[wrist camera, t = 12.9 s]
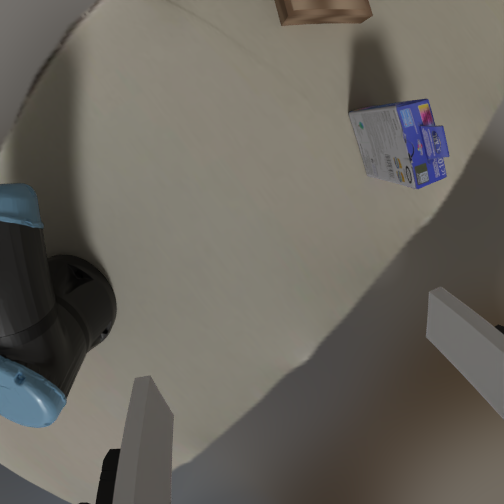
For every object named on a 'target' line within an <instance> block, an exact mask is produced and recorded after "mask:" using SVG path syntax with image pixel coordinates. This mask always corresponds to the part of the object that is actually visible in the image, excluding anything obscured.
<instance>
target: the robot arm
mask: <svg viewBox="0 0 504 504" xmlns="http://www.w3.org/2000/svg"><path fill="white" fill-rule="evenodd" d="M43 228H44V225H43V223H42V222H41V218H40V212H39V206H38V199H37V195H36V192H35V191H34V189H33V188H32V187H31V186H29V185H27V184H23V183H14V184H0V415H2V416H4V417H5V418H7V419H9V420H11V421H13V422H15V423H18V424H20V425H24V426H28V427H34V428H41V427H46V426H49V425H51V424H52V423H53V422H54V421H55V420H56V419H57V417H58V415H59V414H60V412H61V410H62V408H63V407H64V406H65V405H66V401H67V400H66V399H67V396H68V394H69V392H70V389H71V387H72V385H73V382H74V380H75V378H76V376H77V373H78V371H79V369H80V367H81V365H82V362H83V360H84V358H85V356H86V354H87V352H89V351H90V350H91V349H93V348H94V347H96V346H97V345H98V344H100V343H101V342H102V341H103V340H104V339H105V338H106V337H107V336H108V334H109V333H110V331H111V328H112V326H113V324H114V322H115V318H116V310H117V308H116V300H115V296H114V293H113V291H112V288H111V286H110V285H109V283H108V281H107V280H106V278H105V277H104V276H103V275H102V274H101V272H100V271H99V270H98V269H96V268H95V267H94V266H93V265H91V264H90V263H88V262H87V261H85V260H83V259H81V258H78V257H75V256H70V255H58V256H53V257H51V258H49V259H47V254H46V248H45V242H44V235H43ZM426 337H427V338H428V339H429V340H430V341H431V342H432V343H433V344H434V345H435V346H436V348H438V349H439V350H440V352H441V353H442V354H443V355H444V356H445V357H446V358H447V359H448V360H449V361H450V362H451V363H452V364H453V365H454V366H455V367H456V368H457V369H458V370H459V371H460V372H461V373H462V375H463V376H464V377H465V378H466V379H467V380H468V381H469V382H470V383H471V384H472V385H473V386H474V387H475V388H476V390H477V391H478V392H479V393H480V394H481V395H482V396H483V397H484V398H485V399H486V400H487V402H488V403H489V404H490V405H491V406H492V407H493V408H494V409H495V410H496V412H497V413H498V414H499V415H500V416H501V417H502V418H503V419H504V327H503V326H501V325H497V326H495V327H494V326H492V325H491V324H490V323H488V322H487V321H486V320H485V319H483V318H482V317H481V316H480V315H478V314H477V313H476V312H474V311H473V310H472V309H471V308H469V307H468V306H467V305H465V304H464V303H463V302H461V301H460V300H459V299H457V298H456V297H454V296H453V295H452V294H450V293H449V292H448V291H446V290H445V289H444V288H442V287H439V288H436V289H434V290H432V291H430V292H429V304H428V320H427V332H426ZM173 420H174V415H173V413H172V412H171V410H170V408H169V407H168V405H167V403H166V402H165V400H164V398H163V397H162V395H161V393H160V391H159V390H158V388H157V386H156V385H155V383H154V381H153V379H152V377H151V376H144V377H139V378H135V380H134V384H133V389H132V394H131V398H130V403H129V408H128V413H127V418H126V423H125V428H124V433H123V439H122V444H121V449H110V450H109V452H108V453H107V455H106V456H105V458H104V460H103V465H102V472H101V475H100V481H99V486H98V492H97V498H96V504H171V473H172V442H173ZM79 504H89V503H79Z"/></svg>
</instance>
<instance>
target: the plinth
mask: <svg viewBox="0 0 504 504" xmlns="http://www.w3.org/2000/svg"><path fill="white" fill-rule="evenodd" d="M275 4H276V7H277V11H278V15H279V18H280V22H281V26H286V25H300V24H322V23H362V22H364V21H365V20H367V19H368V18H370V17H371V16H373V14H372V11H371V8H370V5H369V1H368V0H275Z"/></svg>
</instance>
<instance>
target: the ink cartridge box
mask: <svg viewBox="0 0 504 504" xmlns="http://www.w3.org/2000/svg"><path fill="white" fill-rule="evenodd" d="M349 117H350V120H351V123H352V126H353V129H354V132H355V135H356V139H357V142H358V145H359V148H360V152H361V155H362V159H363V162H364V166H365V169H366V173H367V176H370V177H374V178H378V179H382V180H386V181H390V182H394V183H397V184H401V185H404V186H407V187H411V188H414V189H420V188H422V187H424V186H426V185H429V184H431V183H434V182H436V181H439V180H441V179H443V178H445V177H447V175H446V170H445V165H444V160H443V157H449V151H448V146H447V141H446V137H445V132H444V128H443V126H435V122H434V118H433V115H432V111H431V108H430V104H429V100H428V99H421V100H412V101H405V102H397V103H391V104H385V105H379V106H370V107H366V108H361V109H357V110H353V111H350V112H349ZM438 137H439V138H438ZM439 139H440V141H441V147H440V142H439Z"/></svg>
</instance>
